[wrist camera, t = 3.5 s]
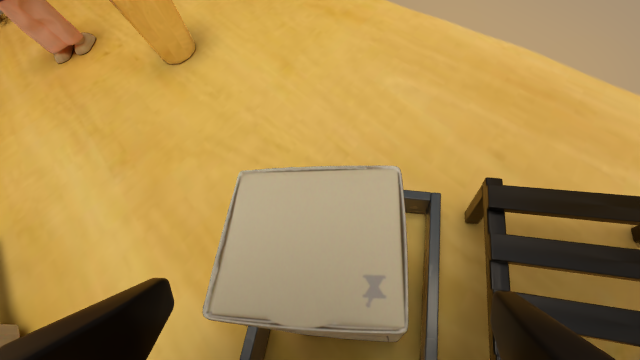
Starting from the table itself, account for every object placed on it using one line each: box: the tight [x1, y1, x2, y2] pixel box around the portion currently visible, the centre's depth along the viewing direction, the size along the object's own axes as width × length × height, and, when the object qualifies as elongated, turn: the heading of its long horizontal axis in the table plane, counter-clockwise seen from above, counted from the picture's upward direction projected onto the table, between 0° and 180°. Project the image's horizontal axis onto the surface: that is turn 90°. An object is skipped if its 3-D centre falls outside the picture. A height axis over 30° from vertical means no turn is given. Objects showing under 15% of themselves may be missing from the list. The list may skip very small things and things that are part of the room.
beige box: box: [203, 166, 408, 342], centre depth 12 cm, size 5×4×10 cm
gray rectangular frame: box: [240, 190, 441, 360], centre depth 16 cm, size 9×11×2 cm
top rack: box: [465, 178, 640, 360], centre depth 12 cm, size 9×11×5 cm
